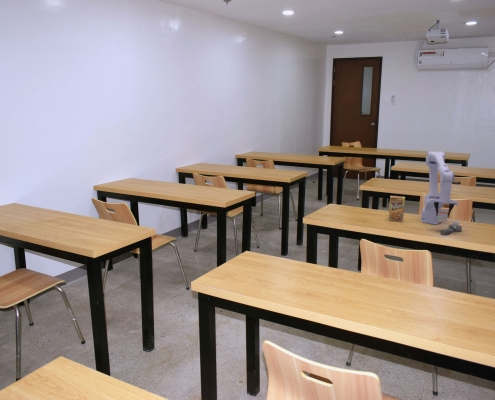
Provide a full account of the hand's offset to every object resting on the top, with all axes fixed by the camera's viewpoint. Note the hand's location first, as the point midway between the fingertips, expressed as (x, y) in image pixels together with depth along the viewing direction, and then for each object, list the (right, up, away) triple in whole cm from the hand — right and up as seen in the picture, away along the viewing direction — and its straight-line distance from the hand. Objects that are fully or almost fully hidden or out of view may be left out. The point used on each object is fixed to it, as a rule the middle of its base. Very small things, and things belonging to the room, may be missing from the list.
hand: (442, 215), depth 251 cm
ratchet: (+4, -9, 0) cm, 10 cm away
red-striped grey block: (0, -2, 0) cm, 2 cm away
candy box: (-19, -4, +24) cm, 31 cm away
